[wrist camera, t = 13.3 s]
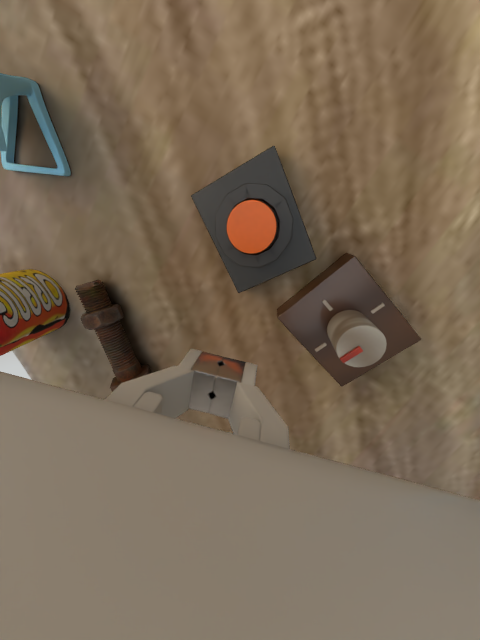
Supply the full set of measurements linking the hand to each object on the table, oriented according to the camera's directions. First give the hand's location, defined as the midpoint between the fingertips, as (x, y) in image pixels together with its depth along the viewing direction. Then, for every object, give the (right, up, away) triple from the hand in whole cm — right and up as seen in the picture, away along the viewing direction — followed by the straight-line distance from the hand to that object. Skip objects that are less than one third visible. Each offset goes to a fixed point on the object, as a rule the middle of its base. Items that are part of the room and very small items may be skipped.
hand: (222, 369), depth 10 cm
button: (+2, +11, +12) cm, 16 cm away
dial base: (+13, +2, +18) cm, 23 cm away
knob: (+13, +1, +16) cm, 20 cm away
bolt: (-16, +1, +23) cm, 28 cm away
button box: (+3, +12, +16) cm, 20 cm away
